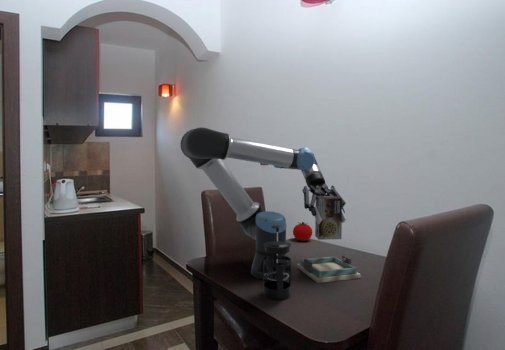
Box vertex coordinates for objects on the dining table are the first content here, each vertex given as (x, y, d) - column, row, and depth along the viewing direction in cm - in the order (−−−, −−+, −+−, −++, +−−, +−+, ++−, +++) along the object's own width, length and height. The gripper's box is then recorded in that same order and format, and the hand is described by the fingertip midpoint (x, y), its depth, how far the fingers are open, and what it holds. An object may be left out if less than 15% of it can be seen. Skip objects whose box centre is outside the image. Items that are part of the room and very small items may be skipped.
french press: (260, 288, 121) (261, 222, 119) (287, 287, 122) (288, 222, 120) (265, 303, 109) (265, 230, 108) (294, 302, 110) (295, 229, 109)
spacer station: (317, 282, 126) (317, 268, 126) (296, 267, 144) (297, 254, 143) (360, 278, 132) (361, 263, 131) (335, 263, 149) (335, 251, 149)
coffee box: (337, 235, 140) (338, 195, 140) (341, 239, 134) (342, 197, 133) (314, 235, 140) (315, 195, 139) (318, 239, 134) (319, 197, 133)
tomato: (305, 244, 181) (305, 225, 181) (288, 240, 188) (289, 222, 188) (316, 240, 189) (316, 222, 188) (300, 237, 196) (300, 219, 196)
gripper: (333, 183, 154) (353, 225, 140) (286, 183, 147) (302, 228, 133) (340, 171, 149) (361, 214, 134) (291, 171, 142) (308, 217, 128)
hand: (332, 221), depth 134 cm, fingers closed on coffee box, 10 cm apart
